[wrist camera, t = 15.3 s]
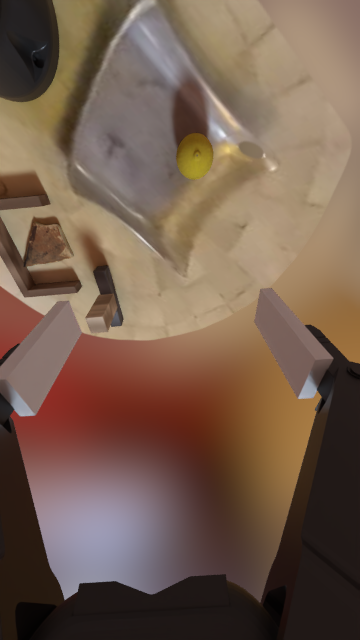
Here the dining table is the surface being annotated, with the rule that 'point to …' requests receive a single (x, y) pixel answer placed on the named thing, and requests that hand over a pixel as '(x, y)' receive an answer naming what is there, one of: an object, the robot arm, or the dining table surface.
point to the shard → (47, 245)
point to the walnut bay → (7, 250)
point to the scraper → (104, 304)
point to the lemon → (194, 156)
